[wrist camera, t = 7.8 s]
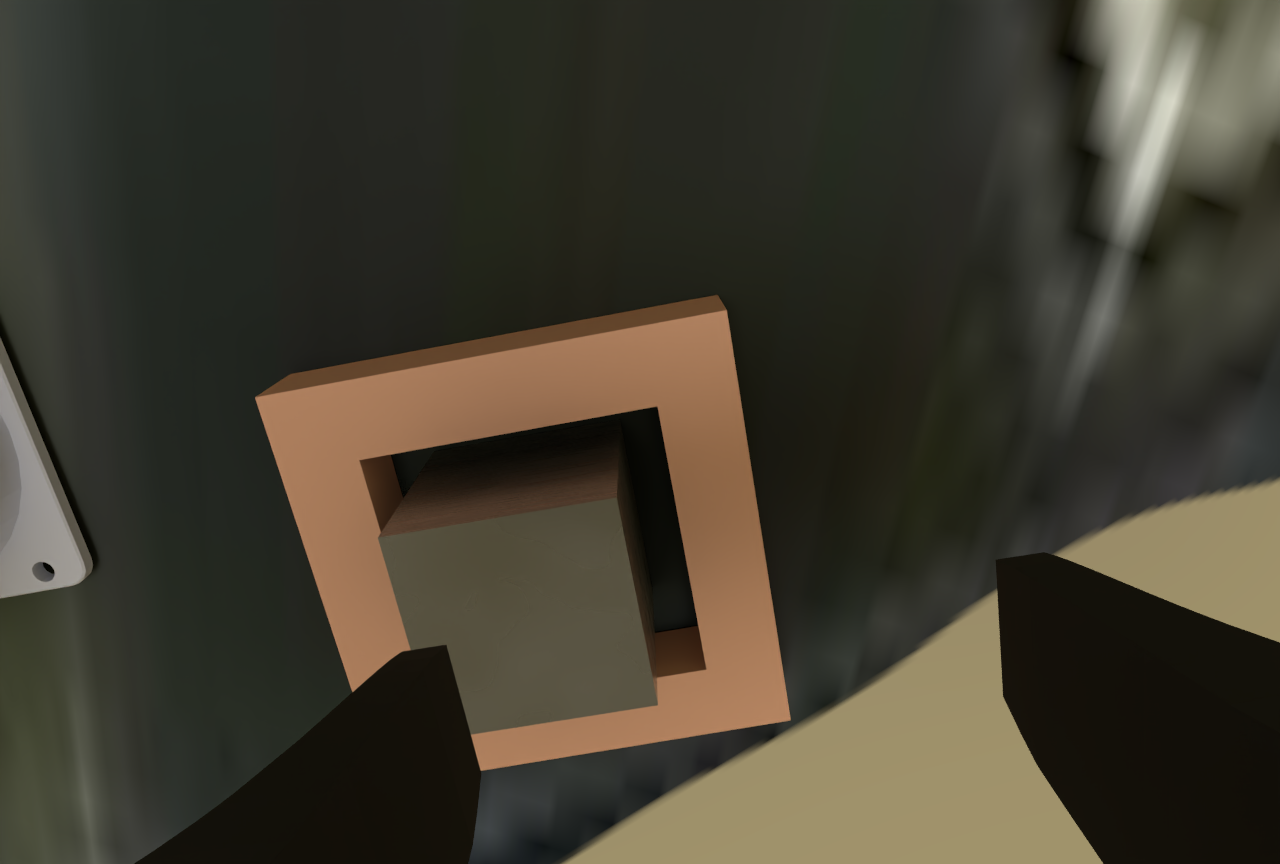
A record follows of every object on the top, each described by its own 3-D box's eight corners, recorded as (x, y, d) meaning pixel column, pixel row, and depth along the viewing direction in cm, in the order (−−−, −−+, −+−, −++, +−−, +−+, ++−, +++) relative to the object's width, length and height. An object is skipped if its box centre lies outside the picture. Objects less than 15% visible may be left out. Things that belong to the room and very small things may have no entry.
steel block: (478, 615, 22) (437, 740, 18) (434, 450, 21) (377, 537, 16) (652, 586, 22) (658, 705, 18) (620, 418, 21) (617, 497, 16)
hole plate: (403, 734, 23) (383, 786, 22) (290, 373, 20) (255, 397, 18) (777, 672, 23) (791, 720, 21) (717, 294, 20) (726, 310, 18)
